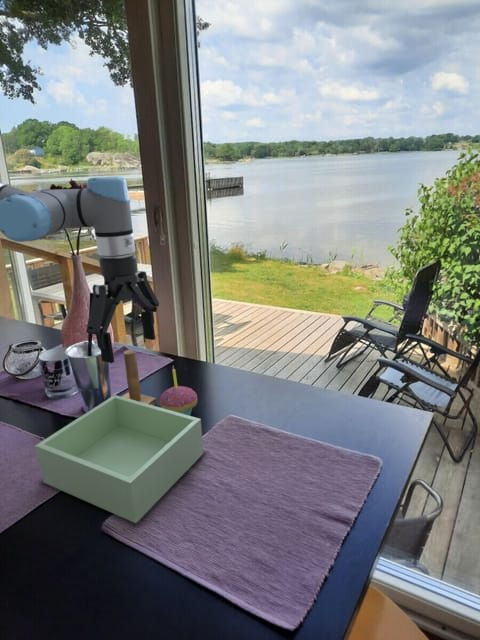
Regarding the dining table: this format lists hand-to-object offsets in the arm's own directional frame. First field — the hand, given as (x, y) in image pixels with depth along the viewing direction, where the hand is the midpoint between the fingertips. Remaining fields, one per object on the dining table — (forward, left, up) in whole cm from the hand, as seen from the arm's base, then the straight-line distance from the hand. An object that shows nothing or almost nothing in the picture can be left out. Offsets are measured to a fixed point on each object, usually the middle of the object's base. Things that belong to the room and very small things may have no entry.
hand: (130, 349), depth 98 cm
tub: (+12, -17, -16) cm, 26 cm away
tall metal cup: (-9, -3, -16) cm, 19 cm away
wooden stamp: (0, 0, -16) cm, 16 cm away
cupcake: (+11, +2, -16) cm, 19 cm away
